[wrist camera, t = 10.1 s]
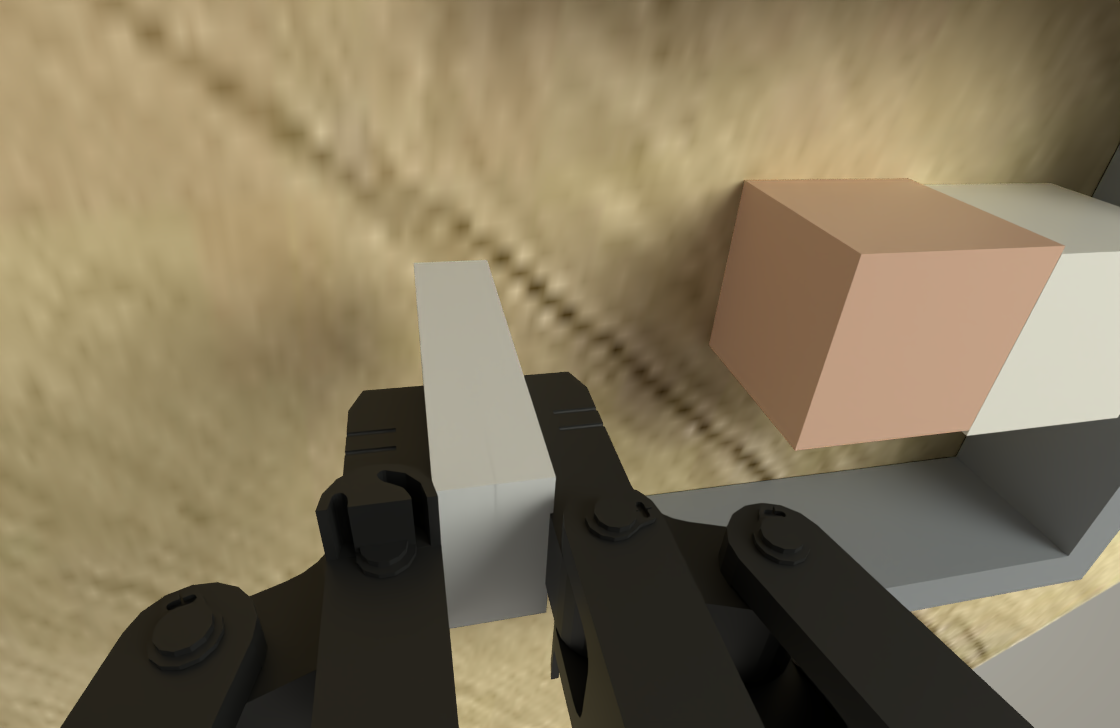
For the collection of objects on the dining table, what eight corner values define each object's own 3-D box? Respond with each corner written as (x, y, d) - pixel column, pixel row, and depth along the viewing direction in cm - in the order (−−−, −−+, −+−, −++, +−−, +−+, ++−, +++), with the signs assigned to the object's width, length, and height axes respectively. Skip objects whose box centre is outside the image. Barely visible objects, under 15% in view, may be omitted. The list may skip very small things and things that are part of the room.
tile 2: (904, 184, 17) (1061, 253, 13) (1047, 181, 18) (1233, 246, 14) (849, 338, 20) (966, 435, 16) (977, 328, 21) (1117, 417, 17)
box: (597, -237, 11) (718, -349, 7) (1314, -134, 15) (1658, -169, 11) (546, 539, 22) (582, 673, 18) (972, 480, 26) (1081, 579, 22)
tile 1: (743, 179, 16) (861, 254, 12) (906, 177, 17) (1065, 245, 13) (707, 343, 19) (794, 450, 15) (851, 333, 20) (969, 430, 16)
